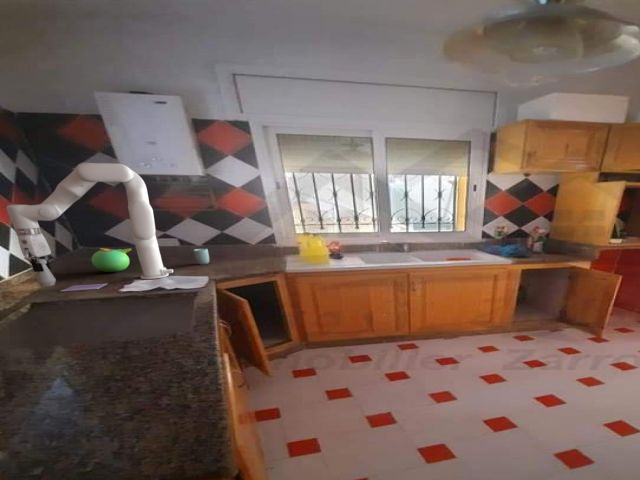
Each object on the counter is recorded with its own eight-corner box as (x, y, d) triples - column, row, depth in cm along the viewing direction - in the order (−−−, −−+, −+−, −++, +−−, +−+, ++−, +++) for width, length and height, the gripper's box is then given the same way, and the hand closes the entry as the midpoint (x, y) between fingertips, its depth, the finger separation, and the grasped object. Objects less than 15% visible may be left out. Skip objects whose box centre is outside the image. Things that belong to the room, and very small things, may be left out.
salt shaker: (45, 287, 151) (34, 260, 147) (36, 286, 152) (25, 260, 148) (60, 284, 157) (51, 258, 152) (51, 283, 158) (42, 257, 154)
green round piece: (90, 273, 188) (82, 248, 184) (125, 267, 203) (118, 244, 198) (104, 276, 181) (96, 251, 176) (140, 270, 195) (133, 246, 191)
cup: (212, 263, 215) (209, 249, 212) (200, 265, 209) (196, 250, 206) (207, 262, 219) (204, 248, 216) (194, 264, 213) (191, 249, 210)
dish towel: (107, 284, 166) (107, 283, 166) (97, 289, 158) (96, 288, 157) (73, 286, 162) (72, 285, 162) (60, 292, 153) (59, 291, 153)
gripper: (25, 234, 140) (40, 273, 146) (52, 230, 155) (64, 266, 161) (2, 234, 138) (18, 275, 143) (31, 230, 153) (45, 267, 158)
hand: (42, 270), depth 152 cm, fingers closed on salt shaker, 4 cm apart
